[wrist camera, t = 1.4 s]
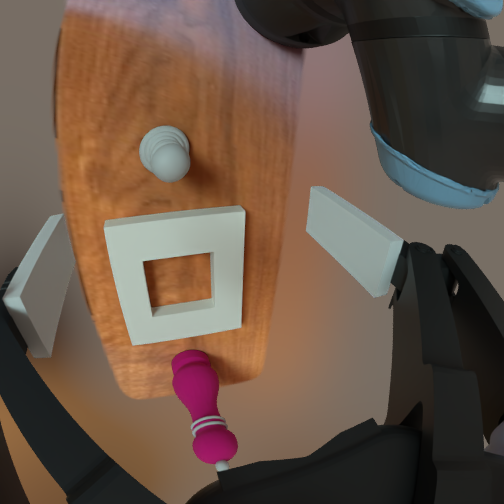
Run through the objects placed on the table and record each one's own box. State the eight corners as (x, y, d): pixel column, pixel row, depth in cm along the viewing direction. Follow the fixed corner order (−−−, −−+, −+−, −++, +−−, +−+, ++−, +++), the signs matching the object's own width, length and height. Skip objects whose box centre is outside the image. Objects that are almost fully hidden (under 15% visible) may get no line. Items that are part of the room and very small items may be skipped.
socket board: (105, 220, 31) (103, 227, 29) (240, 205, 36) (245, 211, 34) (132, 335, 39) (132, 345, 38) (237, 318, 44) (241, 327, 43)
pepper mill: (168, 348, 43) (197, 467, 27) (213, 345, 46) (256, 455, 29) (168, 377, 46) (196, 483, 30) (209, 373, 49) (246, 473, 33)
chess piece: (171, 115, 28) (180, 120, 20) (197, 154, 31) (216, 174, 24) (129, 145, 28) (123, 163, 20) (158, 183, 31) (163, 212, 24)
